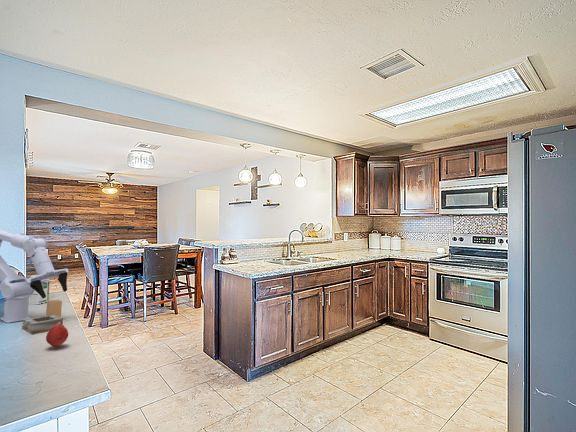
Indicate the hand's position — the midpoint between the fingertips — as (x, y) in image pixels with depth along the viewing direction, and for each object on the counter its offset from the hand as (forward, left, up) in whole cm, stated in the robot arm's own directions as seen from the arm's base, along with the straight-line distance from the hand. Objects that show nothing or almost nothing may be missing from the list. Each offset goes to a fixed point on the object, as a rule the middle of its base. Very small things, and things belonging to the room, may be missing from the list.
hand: (55, 294), depth 129 cm
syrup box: (-44, +8, -12) cm, 47 cm away
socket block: (+5, -5, -12) cm, 14 cm away
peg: (-4, +1, -12) cm, 13 cm away
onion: (+32, -10, -12) cm, 35 cm away
